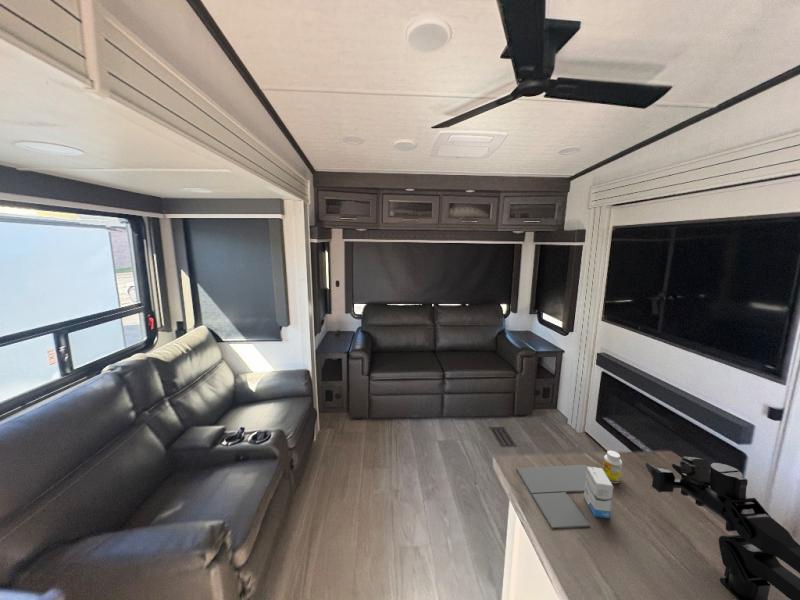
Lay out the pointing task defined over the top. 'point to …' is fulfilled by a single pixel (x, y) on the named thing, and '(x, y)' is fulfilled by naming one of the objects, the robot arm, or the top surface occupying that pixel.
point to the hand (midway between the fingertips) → (659, 464)
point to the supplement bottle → (612, 466)
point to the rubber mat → (557, 492)
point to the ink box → (598, 492)
